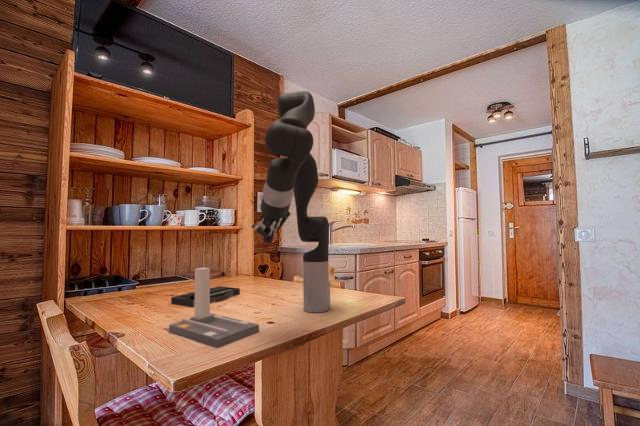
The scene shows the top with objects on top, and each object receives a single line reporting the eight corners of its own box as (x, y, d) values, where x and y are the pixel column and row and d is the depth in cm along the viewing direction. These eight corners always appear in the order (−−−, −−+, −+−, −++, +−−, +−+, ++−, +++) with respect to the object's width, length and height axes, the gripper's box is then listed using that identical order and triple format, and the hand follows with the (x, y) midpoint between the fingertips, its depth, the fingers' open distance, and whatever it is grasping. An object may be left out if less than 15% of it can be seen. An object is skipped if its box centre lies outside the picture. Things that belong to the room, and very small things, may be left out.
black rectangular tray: (218, 283, 144) (251, 286, 135) (218, 292, 144) (252, 296, 135) (170, 294, 122) (206, 298, 113) (170, 305, 122) (206, 310, 113)
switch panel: (211, 319, 100) (211, 310, 100) (259, 331, 87) (258, 320, 87) (169, 331, 88) (169, 321, 88) (217, 347, 76) (217, 335, 76)
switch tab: (205, 318, 94) (205, 267, 95) (213, 320, 92) (213, 267, 93) (190, 322, 90) (190, 269, 91) (198, 324, 88) (198, 269, 89)
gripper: (285, 180, 85) (275, 224, 97) (247, 197, 76) (241, 243, 88) (304, 195, 83) (291, 238, 94) (268, 214, 74) (258, 259, 85)
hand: (267, 240), depth 91 cm, fingers closed
